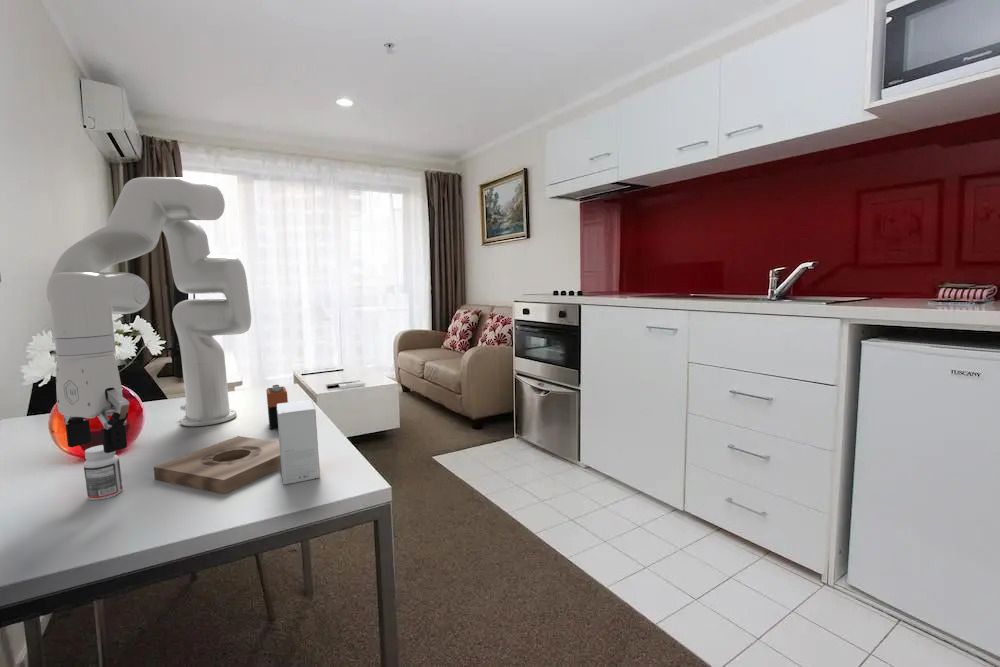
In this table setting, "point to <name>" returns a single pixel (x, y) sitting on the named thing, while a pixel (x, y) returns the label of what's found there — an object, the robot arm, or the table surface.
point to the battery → (275, 403)
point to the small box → (298, 441)
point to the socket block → (222, 465)
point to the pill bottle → (102, 473)
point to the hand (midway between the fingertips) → (97, 447)
